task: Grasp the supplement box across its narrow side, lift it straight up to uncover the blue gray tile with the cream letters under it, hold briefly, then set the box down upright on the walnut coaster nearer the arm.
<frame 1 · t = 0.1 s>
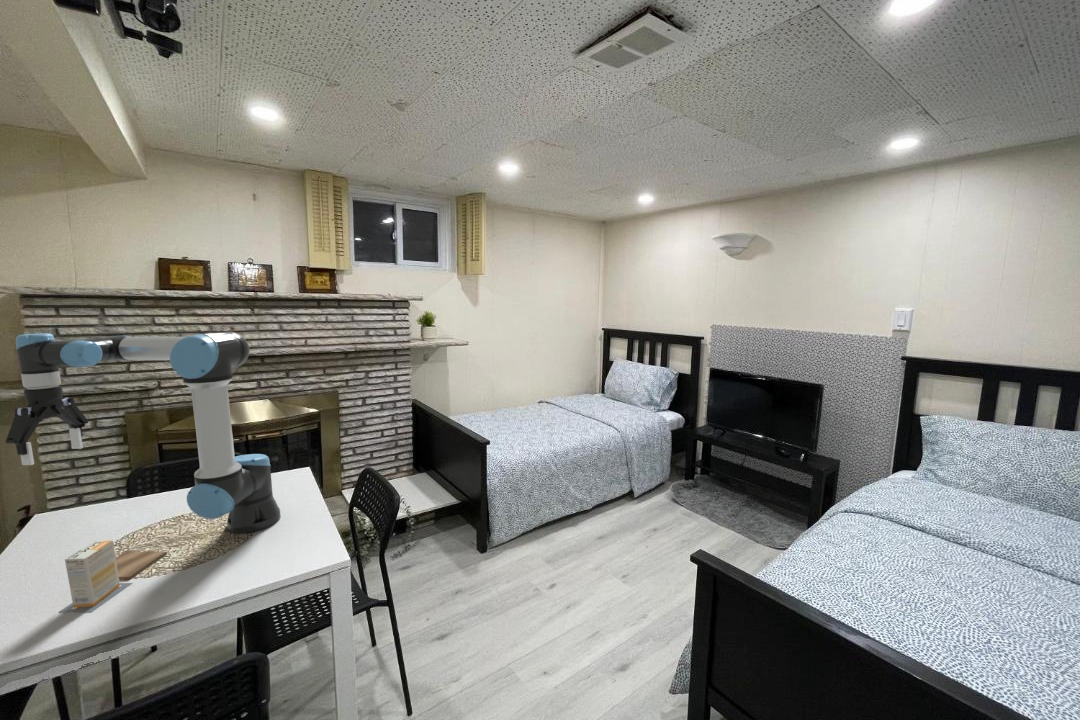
hand: (54, 456, 134), 28 cm above the table, fingers open, 13 cm apart
coaster: (128, 566, 127), on the table
supplement box: (97, 597, 114), resting on blue gray tile
blue gray tile: (97, 596, 114), on the table
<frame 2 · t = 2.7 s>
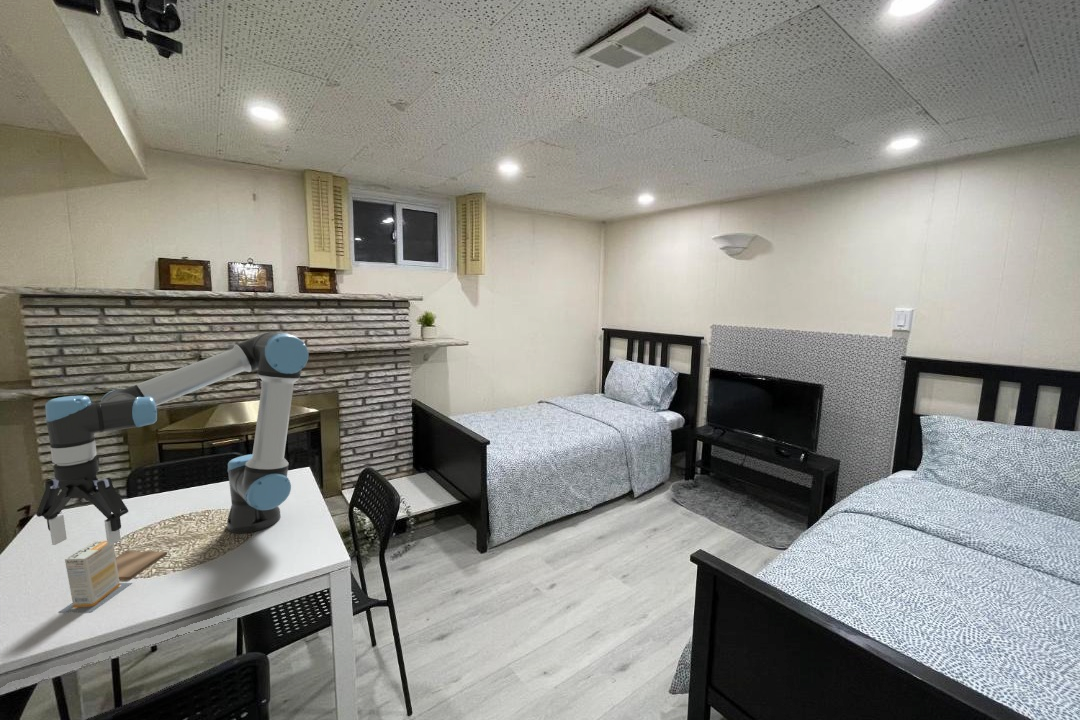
hand: (86, 542, 111), 15 cm above the table, fingers open, 13 cm apart
nothing on the table moved.
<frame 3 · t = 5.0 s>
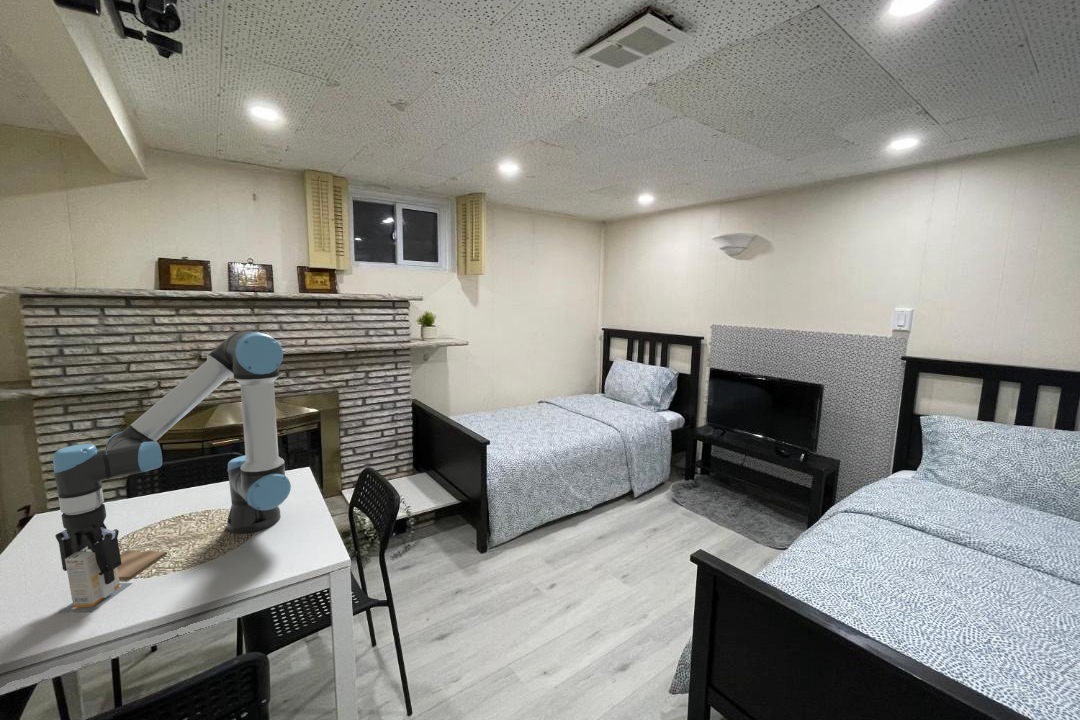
hand: (96, 594, 114), 1 cm above the table, fingers closed on supplement box, 5 cm apart
supplement box: (97, 597, 114), resting on blue gray tile, touching gripper
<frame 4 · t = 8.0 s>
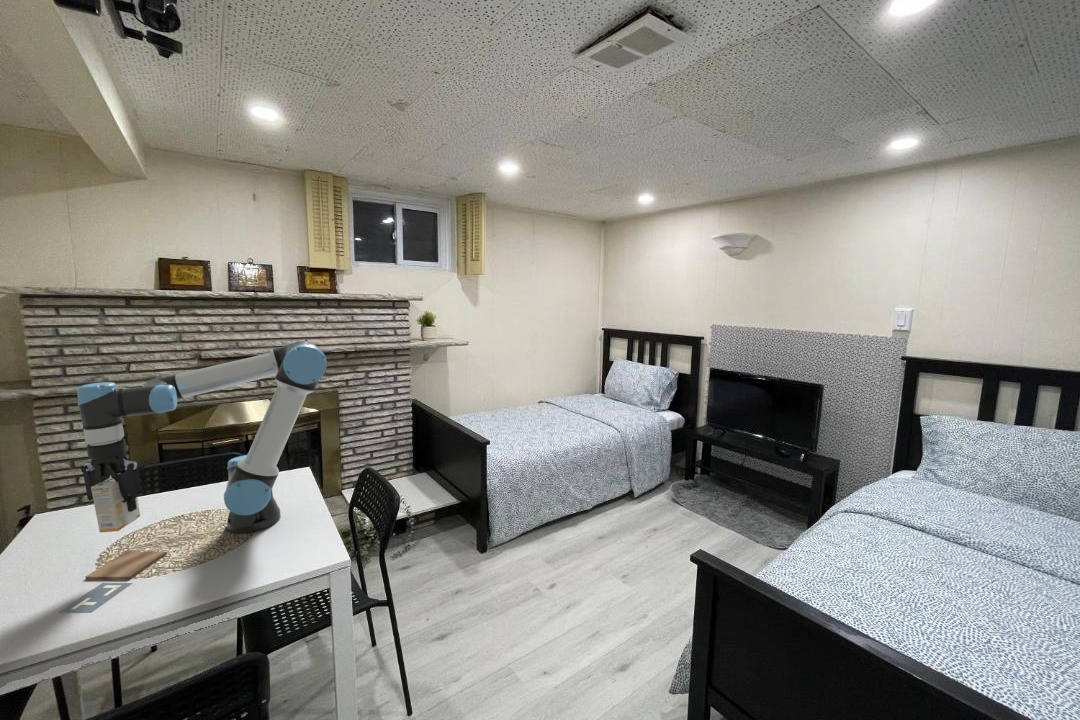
hand: (120, 522, 123), 14 cm above the table, fingers closed on supplement box, 5 cm apart
supplement box: (120, 525, 123), point 13 cm above the table, touching gripper
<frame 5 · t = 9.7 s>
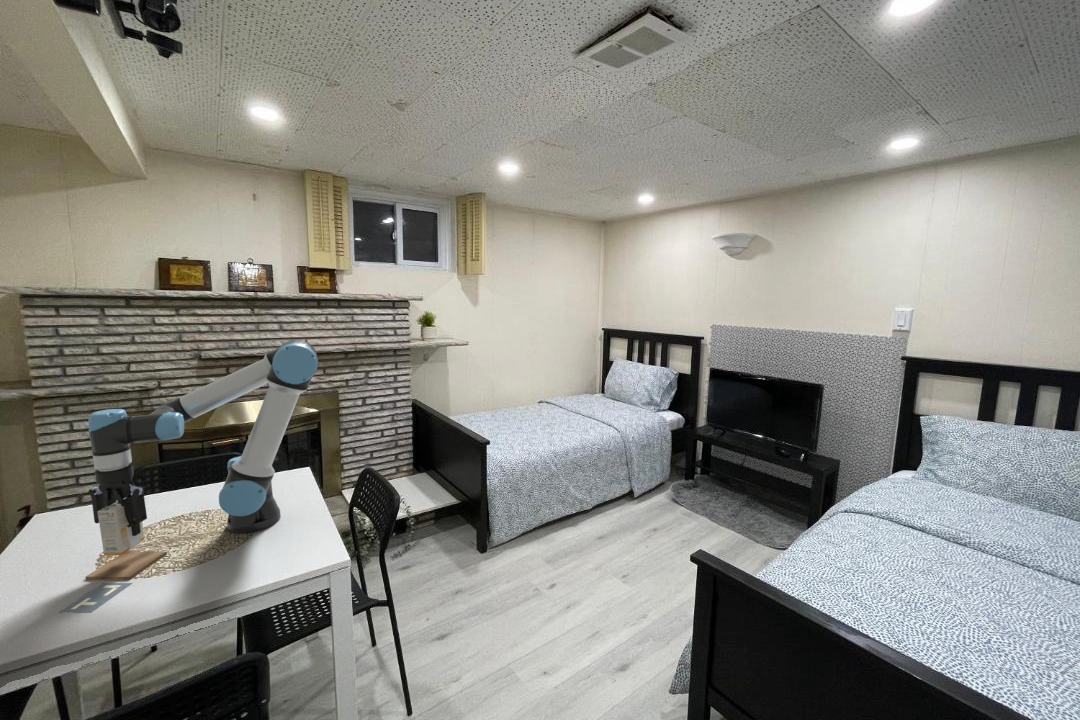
hand: (124, 545, 126), 6 cm above the table, fingers closed on supplement box, 5 cm apart
supplement box: (124, 548, 126), point 5 cm above the table, touching gripper
when the fingers open (3 cm above the table, at t = 11.1 s): supplement box drops 1 cm, resting on coaster.
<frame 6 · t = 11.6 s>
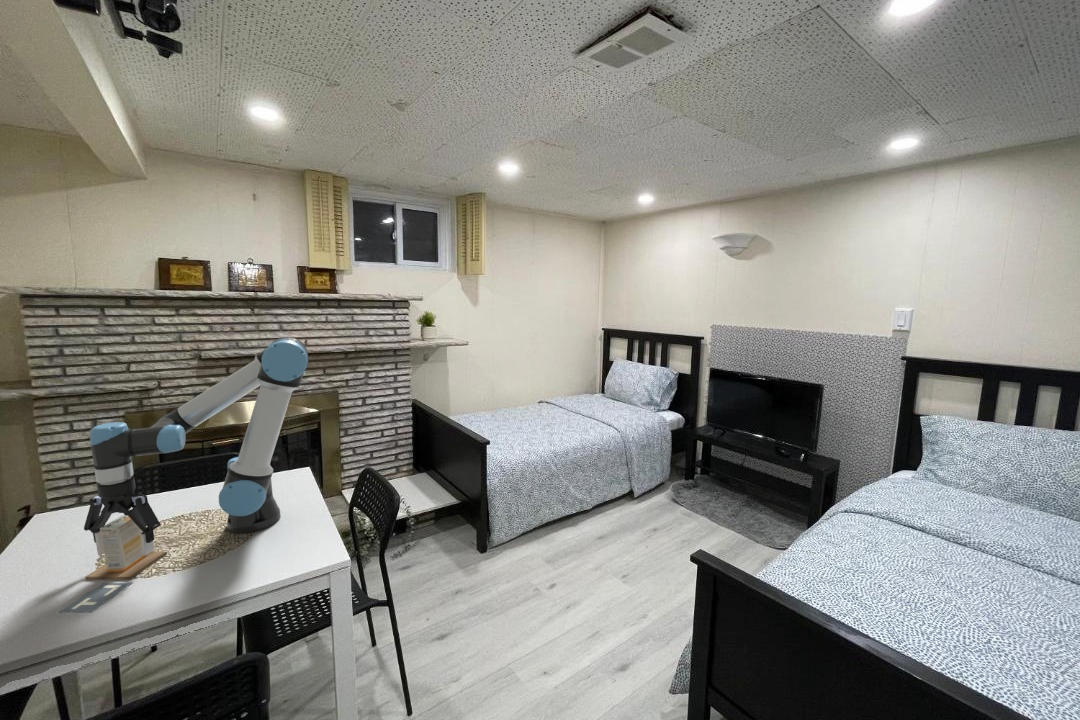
hand: (126, 552, 126), 4 cm above the table, fingers open, 12 cm apart
supplement box: (128, 564, 127), point 1 cm above the table, touching coaster
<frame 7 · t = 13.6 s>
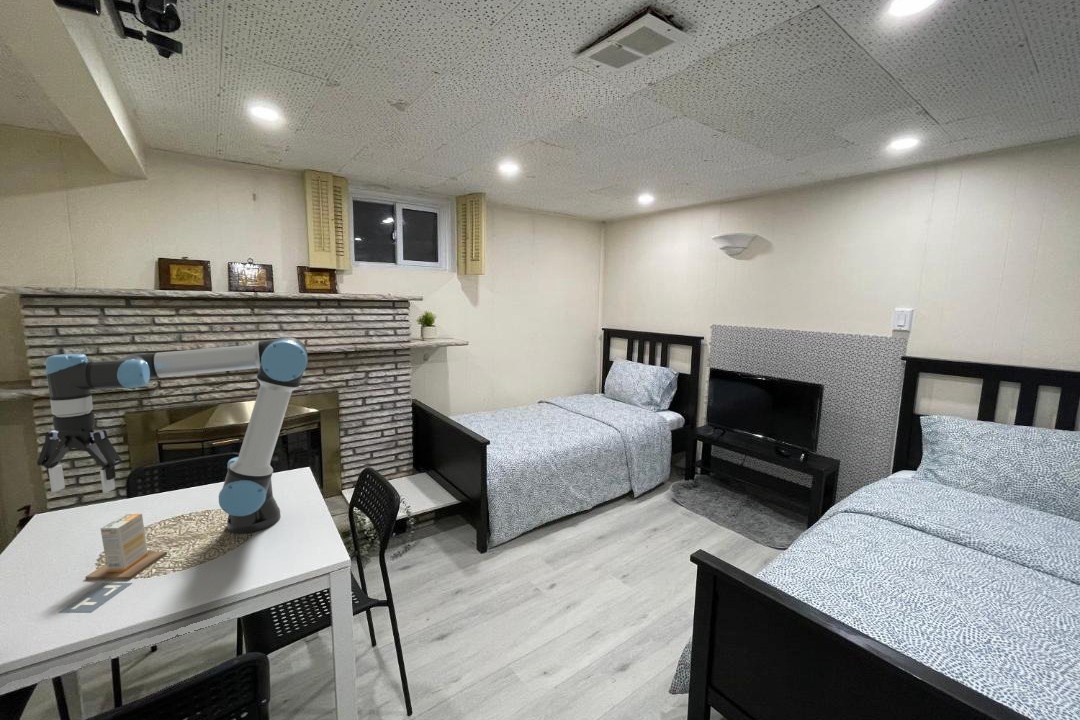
hand: (83, 490, 120), 24 cm above the table, fingers open, 13 cm apart
nothing on the table moved.
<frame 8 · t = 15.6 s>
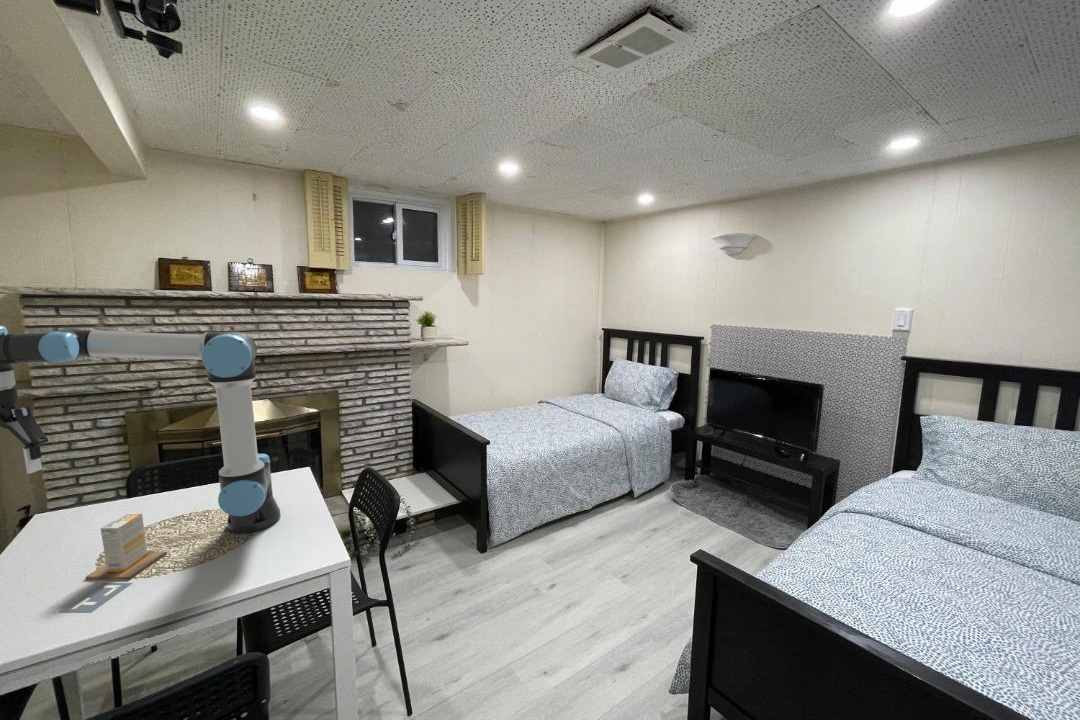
hand: (7, 471, 113), 32 cm above the table, fingers open, 13 cm apart
nothing on the table moved.
at the end: supplement box inside the target area on the coaster (0.1 cm from its centre), point 0.6 cm above the coaster's base; supplement box tilted 0°; supplement box moved 13.6 cm from its start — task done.
